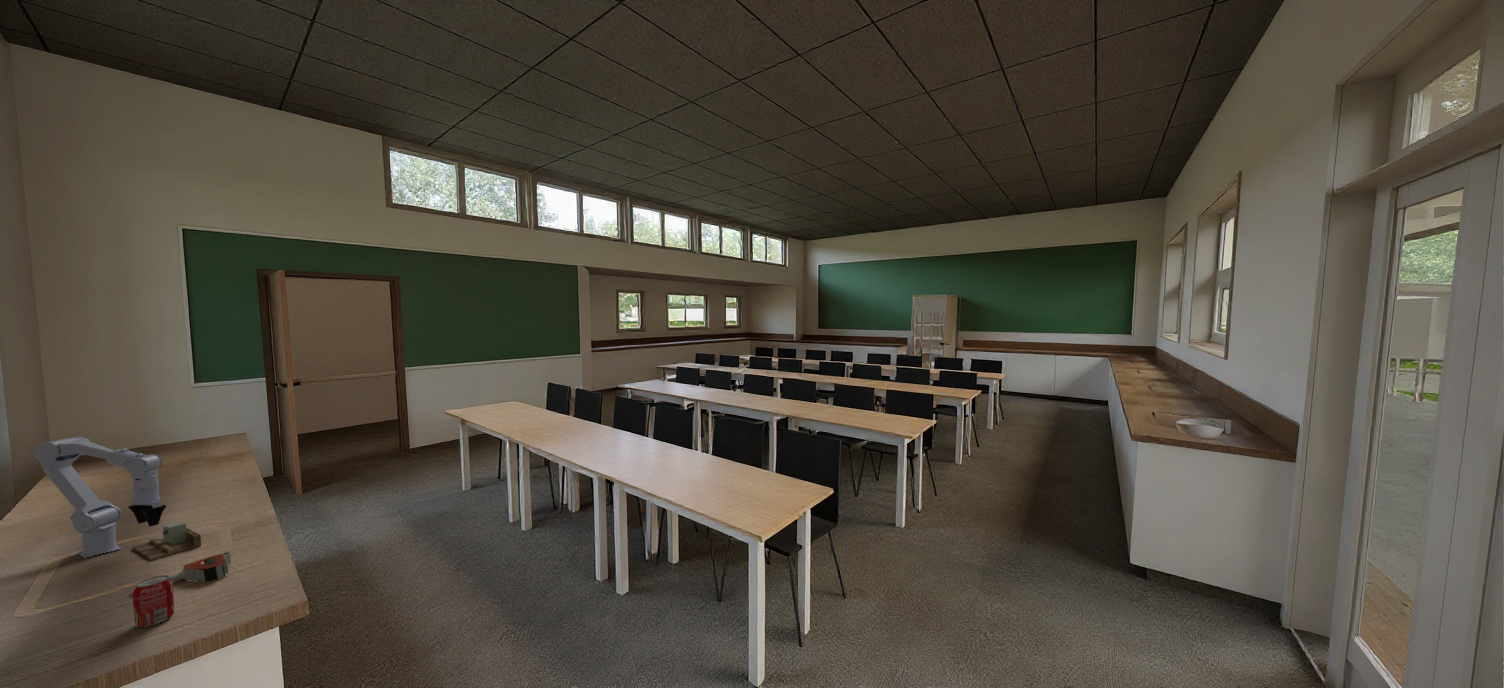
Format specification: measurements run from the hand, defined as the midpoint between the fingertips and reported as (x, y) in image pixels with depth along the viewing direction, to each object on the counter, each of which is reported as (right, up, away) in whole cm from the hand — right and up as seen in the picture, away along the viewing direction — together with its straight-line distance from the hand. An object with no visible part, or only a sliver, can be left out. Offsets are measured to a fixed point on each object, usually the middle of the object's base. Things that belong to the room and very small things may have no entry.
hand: (148, 523), depth 176 cm
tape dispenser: (+41, -11, -20) cm, 47 cm away
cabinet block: (+7, -8, +3) cm, 11 cm away
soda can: (+57, -12, -43) cm, 72 cm away
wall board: (+6, -9, +1) cm, 11 cm away
